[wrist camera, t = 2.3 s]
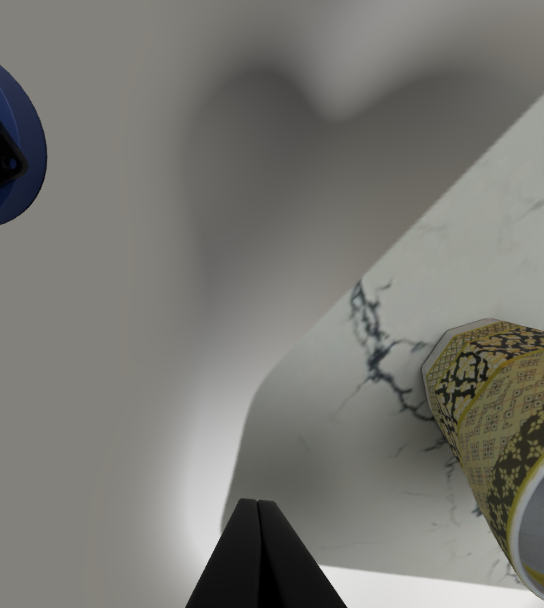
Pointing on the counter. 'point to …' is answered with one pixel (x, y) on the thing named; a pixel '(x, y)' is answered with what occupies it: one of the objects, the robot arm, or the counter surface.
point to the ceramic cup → (497, 430)
